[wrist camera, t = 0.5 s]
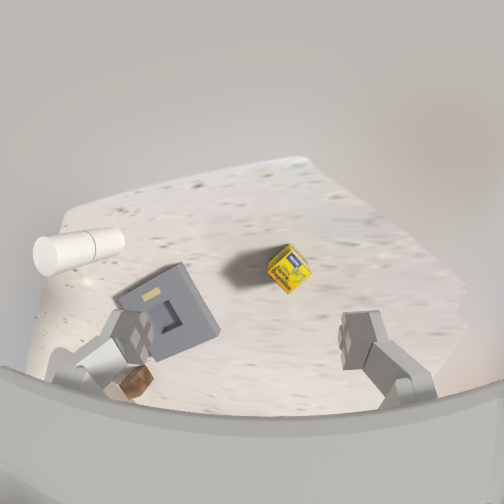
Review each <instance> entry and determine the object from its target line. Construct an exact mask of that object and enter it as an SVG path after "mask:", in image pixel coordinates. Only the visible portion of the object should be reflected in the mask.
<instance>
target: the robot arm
mask: <svg viewBox="0 0 504 504" xmlns="http://www.w3.org/2000/svg"><path fill="white" fill-rule="evenodd" d="M147 320H148V316H147V314H146V312H142V311H131V310H119V309H114V310H113V311H112V312H111V314H110V316H109V318H108V320H107V322H106V324H105V326H104V328H103V330H102V332H101V334H100V336H96V337H95V338H93V339H92V340H90V341H89V342H88V343H86V344H85V345H84V346H82V347H81V348H80V349H78V350H77V351H76V352H74V353H73V354H72V355H70V356H69V357H68V358H66V359H65V360H64V361H62V362H61V364H60V366H59V368H58V370H57V373H56V375H55V376H54V379H53V381H52V383H50V382H47V381H44V380H41V379H38V378H35V377H32V376H30V375H27V374H24V373H21V372H19V371H16V370H14V369H11V368H8V367H6V366H0V504H504V379H503V380H498V381H496V382H493V383H490V384H487V385H484V386H480V387H477V388H474V389H471V390H467V391H464V392H460V393H457V394H453V395H449V396H445V397H441V398H438V397H437V394H436V390H435V387H434V384H433V381H432V377H431V374H430V372H428V371H427V370H426V369H425V368H424V367H423V366H422V365H420V364H419V363H418V362H417V361H416V360H415V359H414V358H412V357H411V356H410V355H409V354H408V353H407V352H405V351H404V350H403V349H402V348H401V347H400V346H399V345H397V344H396V343H395V342H394V341H393V340H391V341H389V338H388V335H387V331H386V328H385V325H384V322H383V319H382V316H381V313H380V311H379V310H373V311H358V312H343V314H342V318H341V320H342V325H341V326H340V327H339V334H338V341H339V348H340V349H341V350H342V354H341V361H342V367H343V370H355V369H363V371H364V372H365V373H366V375H367V376H368V377H369V378H370V379H371V381H372V382H373V383H374V384H375V385H376V387H377V388H378V389H379V390H380V391H381V392H382V394H383V395H384V396H385V397H386V398H385V399H384V401H383V402H382V404H381V405H380V407H379V408H378V409H377V410H370V411H362V412H353V413H343V414H331V415H315V416H288V417H260V416H232V415H217V414H205V413H194V412H185V411H177V410H169V409H162V408H156V407H150V406H144V405H138V404H133V403H127V402H122V401H117V400H113V399H110V398H109V396H108V395H107V394H106V393H105V392H104V391H103V389H104V388H105V387H106V386H107V385H108V384H109V383H110V382H111V381H112V380H113V379H114V378H115V377H116V376H117V375H118V374H119V373H120V372H121V371H122V370H123V369H124V368H125V367H126V366H127V365H128V363H129V364H139V365H145V363H146V360H147V357H148V354H149V352H148V350H147V348H149V347H150V346H151V345H152V342H153V337H154V332H153V328H152V325H151V324H150V323H149V322H147Z"/></svg>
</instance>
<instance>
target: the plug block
mask: <svg viewBox="0 0 504 504" xmlns="http://www.w3.org/2000/svg"><path fill="white" fill-rule="evenodd" d="M153 379H154V377H153V376H152V374H151V373H150V372H149V370H148V369H147V367H146V366H145V365H144V366H141V367H139V368H136V369H134V370H133V371H132V372H131V373H130V374H129V375H128V376H127V377H126V378H125V379H124V381H123V382H122V383H121V384H120V385H119V386H120V388H121V389H122V391H123V392H124V393H125V395H126V396H127V397H128V399H132V398H135V397H139V396H141V395H142V394H143V393H144V391H145V390H146V389H147V387H148V386H149V385H150V383H151V382H152V381H153Z"/></svg>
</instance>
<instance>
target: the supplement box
mask: <svg viewBox="0 0 504 504" xmlns="http://www.w3.org/2000/svg"><path fill="white" fill-rule="evenodd" d="M267 273H268V274H269V275H270V276H271V277H272V278H273V279H274V280H275V281H276V283H277V284H278V285H279V286H280V287H281V288H282V289H283V290H284V291H285V292H286V293H287V294H290V293H291V292H292V291H293V290H294V289H295V288H296V287H298V286H299V285H300V284H301V283H302V282H303V281H304V280H306V279H307V278H308V277H309V276H310V275H311V274H312V273H311V271H310V269H309V266H308V264H307V262H306V261H305V260H304V259H303V258H302V257H301V256H300V255H299V254H298V252H297V251H296V250H295V249H294V248H293V247H292V246H291V245H290V244H288V245H287V246H286V247H285V248H283V249H282V250H281V251H280V252H279V253H278V254H277V255H276V256H275V257H274V258H273V259H272V260H270V262H269V265H268V270H267Z"/></svg>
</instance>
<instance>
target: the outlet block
mask: <svg viewBox="0 0 504 504" xmlns="http://www.w3.org/2000/svg"><path fill="white" fill-rule="evenodd" d="M118 300H119V302H120V304H121V305H122V307H123V309H124V310H131V311H142V312H146V314H147V316H148V320H147V322H149V323H150V324H151V325H152V328H153V332H154V337H153V342H152V345H151V346H150V347H149V348H147V349H148V350H149V352H150V353H151V355H152V356H153V358H154V359H155V361H156V362H158V361H161V360H163V359H166V358H168V357H170V356H173V355H175V354H178V353H180V352H182V351H185V350H187V349H190V348H192V347H194V346H197V345H199V344H201V343H204V342H206V341H208V340H210V339H213V338H215V337H217V336H218V334H219V332H220V330H221V329H220V327H219V326H218V324H217V322H216V321H215V319H214V317H213V316H212V314H211V312H210V310H209V309H208V307H207V305H206V304H205V302H204V300H203V298H202V297H201V295H200V293H199V291H198V290H197V288H196V286H195V284H194V283H193V281H192V279H191V277H190V275H189V274H188V272H187V270H186V268H185V266H184V265H183V263H180V264H178V265H176V266H174V267H173V268H171V269H169V270H167V271H165V272H164V273H162V274H160V275H158V276H157V277H155V278H153V279H151V280H150V281H148V282H146V283H144V284H143V285H141V286H139V287H137V288H136V289H134V290H132V291H131V292H129V293H127V294H125V295H124V296H122V297H120V298H119V299H118Z"/></svg>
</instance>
